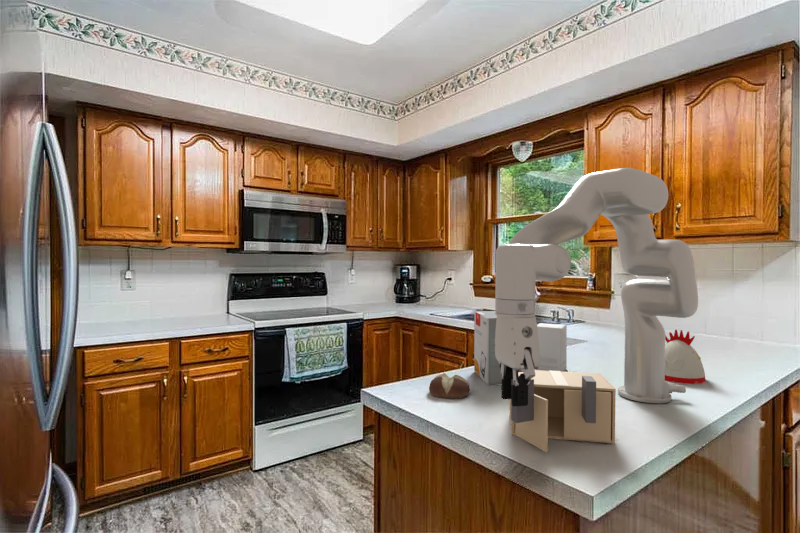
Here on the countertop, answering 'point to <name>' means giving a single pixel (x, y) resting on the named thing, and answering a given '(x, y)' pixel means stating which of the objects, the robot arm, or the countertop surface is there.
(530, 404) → the flap left
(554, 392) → the carton
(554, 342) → the supplement box
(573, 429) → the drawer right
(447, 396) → the bread
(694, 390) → the countertop surface
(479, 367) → the hard drive box
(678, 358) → the kitchen timer
